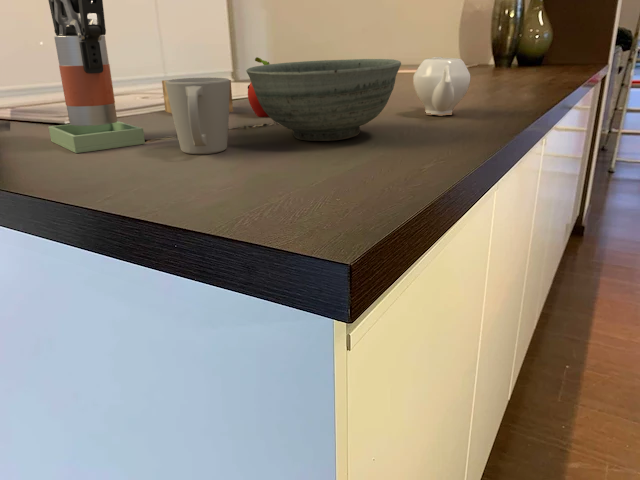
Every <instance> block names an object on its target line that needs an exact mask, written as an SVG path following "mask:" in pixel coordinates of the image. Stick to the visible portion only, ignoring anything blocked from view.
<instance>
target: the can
mask: <svg viewBox="0 0 640 480" xmlns="http://www.w3.org/2000/svg"><path fill="white" fill-rule="evenodd" d="M53 38H54V44H55V47H56V54H57V61H58V67H59V73H60V74H59V75H60V79H61V85H62V91H63V97H64V101H65V105H66V112H67V116H68V122H69V124H70V125H73V126H98V125H106V124H112V123H115V122H117V121H118V117H117V109H116V100H115V93H114V86H113V79H112V72H111V64H110V61H109V54H108V48H107V42H106V35H102V37H101V41H98V42H99V43H100V50H101V56H102V63H103V72H102V73H86V72H85V71H84V68H83V61H82V55H81V49H80V43H79V42H83V41H80V40H79V38H78V36H56V35H54V36H53Z"/></svg>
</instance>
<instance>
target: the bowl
mask: <svg viewBox="0 0 640 480" xmlns="http://www.w3.org/2000/svg"><path fill="white" fill-rule="evenodd" d="M401 66H402V62H401V60H399V59H392V58H391V59H390V58H353V59H352V58H351V59H324V60H322V59H321V60H304V61H303V60H302V61H291V62H277V63H269V65H264V64H262V65H255V66H251V67H249V68H247V69H246V70H245V72H246V74H247V75H248V77H249V80H250V83H252V86H253V88H254V91H255V94H256V96H257V99H258V101H259V103H260V105H261V106H262V108H263V110H264V111H265V112H266V113H267V115H268V116H269V117H268V118H269V119H271V120H272V121H273V122H275V123H277V124H279V125H281V127H284V128H286V129H288V130H292V135H293V137H294V138H295V139H296V140H297V139H298V140H302V141H311V142H329V141H339V140H340V141H341V140H346V139H350V138H354V137H356V136H358V135H359V134H360V131H361V126H362V127H363V126H364V125H366V124H368V123H369V122H371V121H373V120H374V119H375V118H377V117H378V116H379V115H380V114H381V113H382V112H383V110H384V108H385V107H386V106H387V104H388V102H389V100H390V98H391V95H392V94H393V93H392V92H393V91H394V88H395V84H396V79H397V78H396V77H397V76H398V72H399V71H400V68H401Z"/></svg>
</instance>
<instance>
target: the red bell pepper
mask: <svg viewBox="0 0 640 480" xmlns="http://www.w3.org/2000/svg"><path fill="white" fill-rule="evenodd" d="M254 61H255V62H257V63H260V64H262V65H269V64H270V62H269V61H267V60H263V59H262V58H261V57H259V56H258V57H257V56H256V57H255V59H254ZM247 99H248V103H249V105H250V107H251V109H252V110H253V112H254V114H255V115H256V116H257V117H258V118H270V117H269V116H268V115H267V113H266V112H265V111H264V110H263V108H262V106H261V105H260V103H259V101H258V99H257V96H256V94H255V91H254V88H253V86H252V83H251V82H250V83H249V84H248V85H247Z"/></svg>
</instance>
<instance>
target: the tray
mask: <svg viewBox="0 0 640 480" xmlns="http://www.w3.org/2000/svg"><path fill="white" fill-rule="evenodd" d="M48 132H49V136H50V141H51V143H53V144H56V145H58V146H60V147H62V148H64V149H66V150H69V151H70V152H73V153H74V154H81V153H89V152H96V151H103V150H109V149H118V148H124V147H132V146H138V145H146V140H145V132H144V128H143V127H140V126H137V125H134V124H129V123H126V122H122V121H119V120H117V122H115V123H112V124H106V125H98V126H73V125H70V123H68V124H59V125H50V126H49V125H48Z"/></svg>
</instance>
